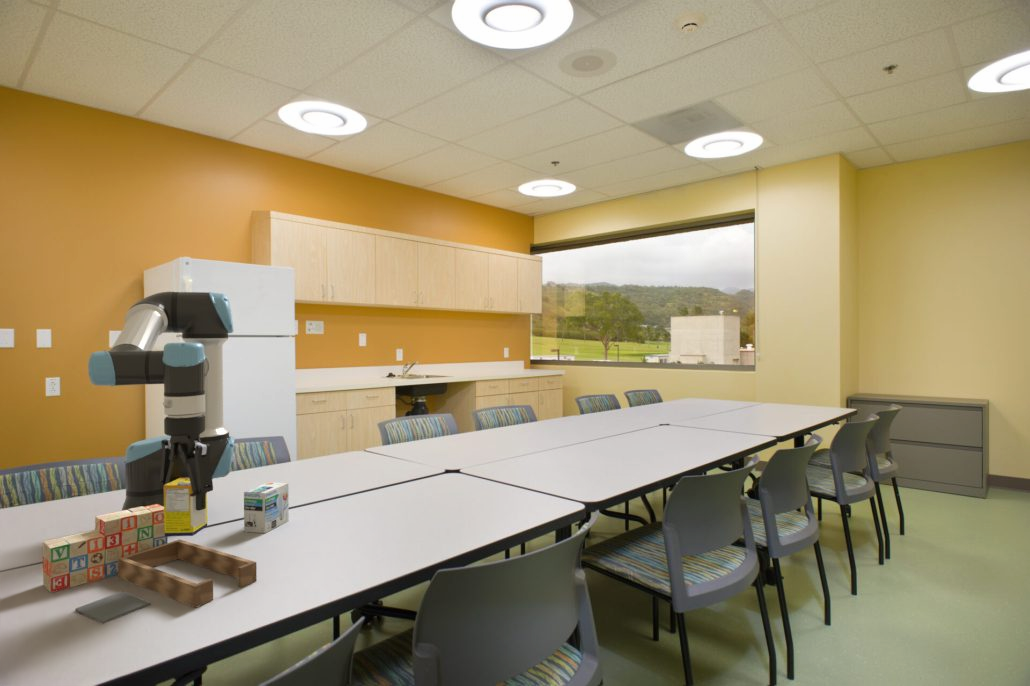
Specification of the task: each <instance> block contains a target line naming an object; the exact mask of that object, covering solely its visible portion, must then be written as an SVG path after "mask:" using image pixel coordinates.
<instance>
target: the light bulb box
mask: <svg viewBox="0 0 1030 686" xmlns="http://www.w3.org/2000/svg"><path fill="white" fill-rule="evenodd" d="M289 505H290V504H289V483H287V482H286V483H285V482H272V481H268V482H266V483H262V484H260V485H258V486H256V487H253V488H251V489H247V490H246V491H244V492H243V524H244V525H243V532H248V533H259V534H266V533H268V532H270V531H272V530H274V529H276V528H278V527H280V526H282V525H283V524H286V523H287V522H289V520H290V519H289V517H290V516H289V515H290V514H289V510H290V508H289Z"/></svg>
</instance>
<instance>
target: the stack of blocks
mask: <svg viewBox="0 0 1030 686" xmlns="http://www.w3.org/2000/svg"><path fill="white" fill-rule="evenodd" d="M94 523H95V525H94V530H90V531H85V532H81V533H76V534H72V535H66V536H63V537H62V536H61V537H57V538H54V539H48V540H44V541H43V542H42V576H43V583H42V585H44V587H45V588H46V590H48V592H50V593H54V592H57V591H60V590H65V589H68V588H73V587H76V586H79V585H80V586H81V585H84V584H87V583H90V582H91V583H92V582H94V581H98V580H102V579H104V578H108V577H111V576H112V577H113V576H115V575H118V559H119V558H122V557H126V556H129V555H132V554H135V553H138V552H141V551H144V550H148V549H151V548H154V547H157V546H160V545H163V544H166V543H168V540H169V539H168V537H169V536H165V528H164V507H163V506H161V505H159V504H155V505H150V506H145V507H143V506H141V507H136V508H131V509H128V510H123V511H121V510H119V511H115V512H112V513H111V512H110V513H105V514H100V515H96V516H95V521H94Z"/></svg>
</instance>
